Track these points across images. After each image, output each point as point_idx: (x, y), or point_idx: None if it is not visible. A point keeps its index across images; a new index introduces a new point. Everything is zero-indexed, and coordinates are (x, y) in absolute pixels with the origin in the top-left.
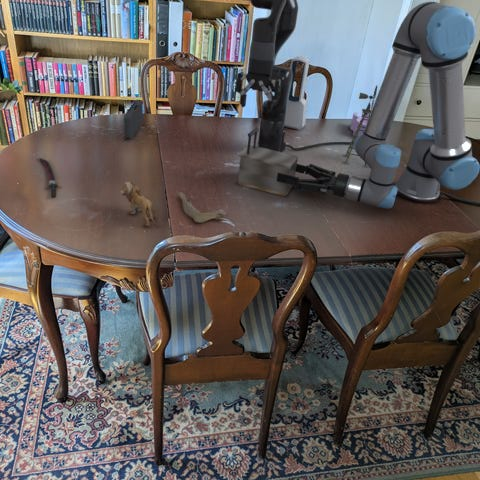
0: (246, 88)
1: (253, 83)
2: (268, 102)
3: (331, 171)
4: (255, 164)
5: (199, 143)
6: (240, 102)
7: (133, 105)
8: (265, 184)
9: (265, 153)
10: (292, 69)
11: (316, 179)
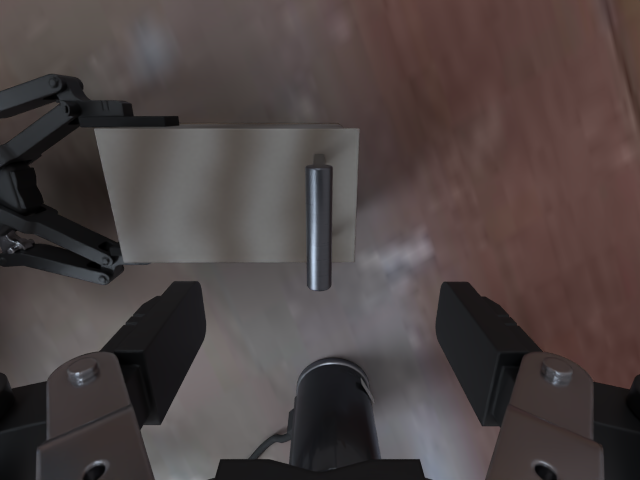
0: (548, 439)
1: None
2: (134, 339)
3: (13, 262)
4: (269, 127)
5: (552, 343)
6: (497, 309)
7: None
8: (231, 124)
9: (252, 210)
10: None
11: (12, 154)
